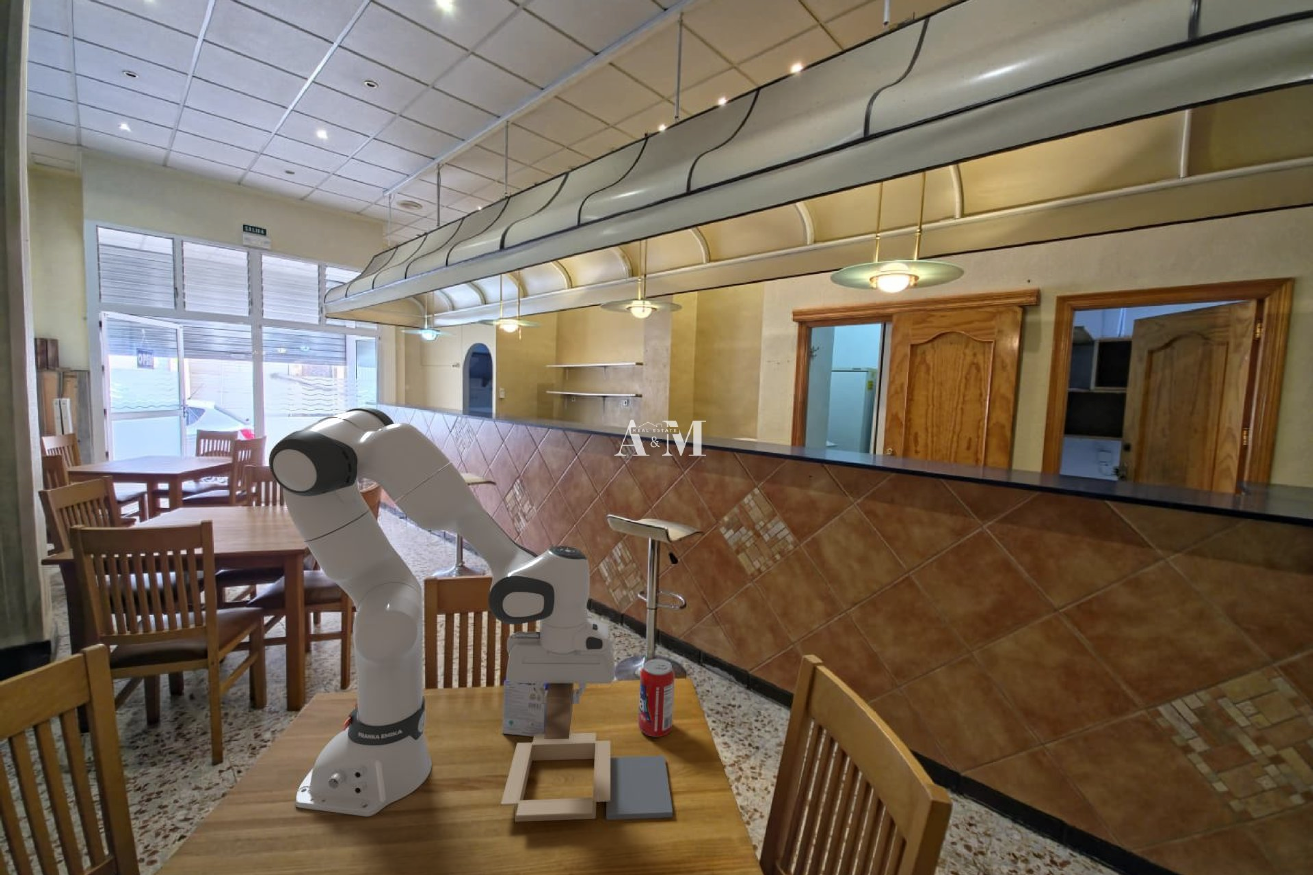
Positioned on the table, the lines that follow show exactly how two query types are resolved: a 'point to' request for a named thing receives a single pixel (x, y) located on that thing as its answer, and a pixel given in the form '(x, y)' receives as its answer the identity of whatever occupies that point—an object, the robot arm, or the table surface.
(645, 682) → the soda can
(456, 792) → the table surface
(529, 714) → the ink cartridge box
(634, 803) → the mat
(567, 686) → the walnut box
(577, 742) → the beige hollow square frame
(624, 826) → the table surface
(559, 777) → the table surface
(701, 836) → the table surface
